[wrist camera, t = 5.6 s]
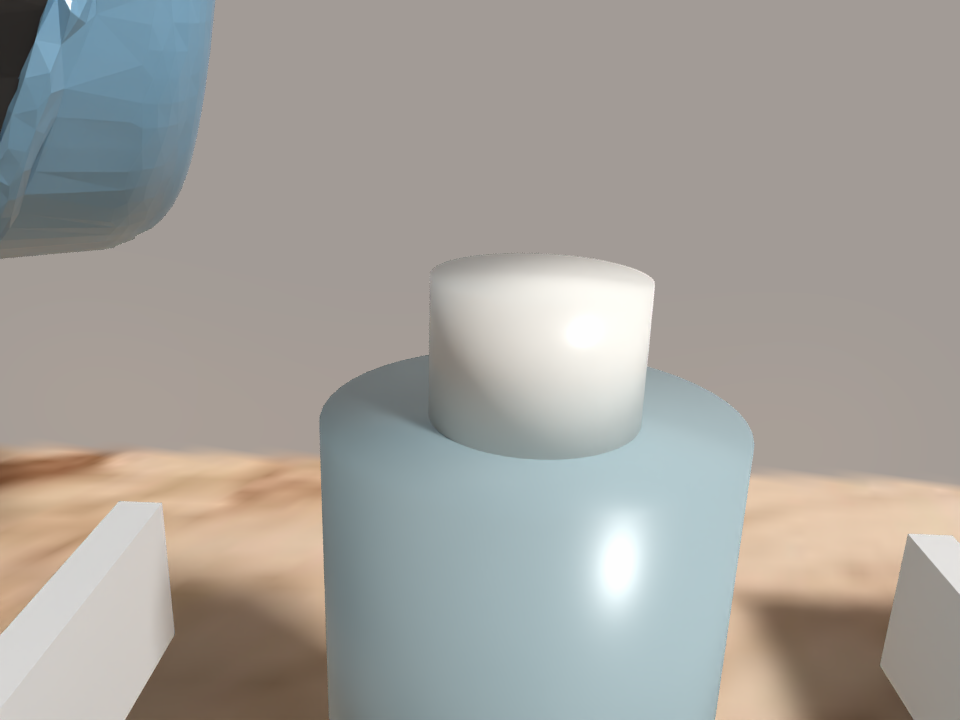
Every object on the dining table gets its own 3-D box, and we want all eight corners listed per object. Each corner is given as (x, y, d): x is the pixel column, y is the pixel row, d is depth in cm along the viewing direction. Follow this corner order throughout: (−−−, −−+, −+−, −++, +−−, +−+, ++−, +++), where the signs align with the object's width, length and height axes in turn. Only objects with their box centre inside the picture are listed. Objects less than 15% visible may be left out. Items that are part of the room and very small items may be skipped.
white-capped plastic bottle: (302, 1116, 13) (259, 333, 9) (364, 792, 18) (355, 228, 15) (712, 1136, 13) (850, 355, 9) (648, 804, 18) (715, 240, 14)
